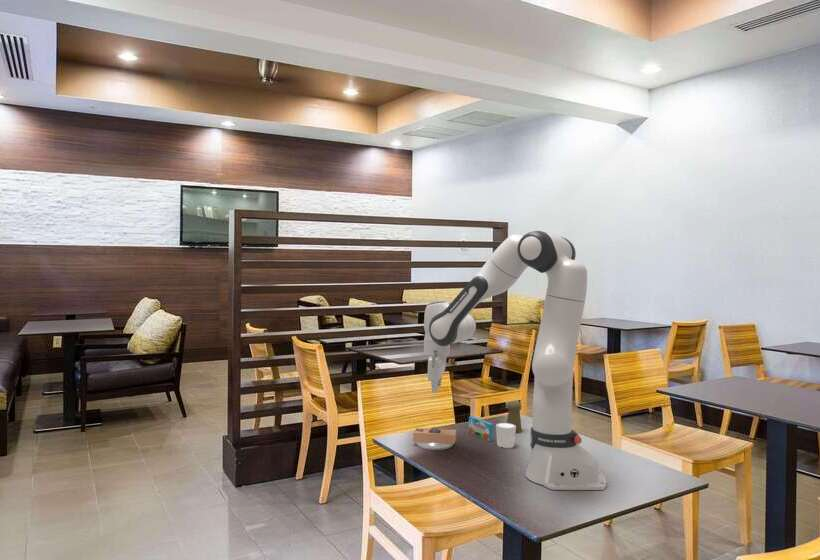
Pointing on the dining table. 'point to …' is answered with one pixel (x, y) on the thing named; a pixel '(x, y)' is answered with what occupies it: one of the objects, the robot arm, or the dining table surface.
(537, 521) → the dining table surface
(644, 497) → the dining table surface
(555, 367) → the robot arm
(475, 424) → the blue printed cardboard box
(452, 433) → the orange letter a block
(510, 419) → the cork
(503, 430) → the white cylindrical downlight
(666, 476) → the dining table surface
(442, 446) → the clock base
